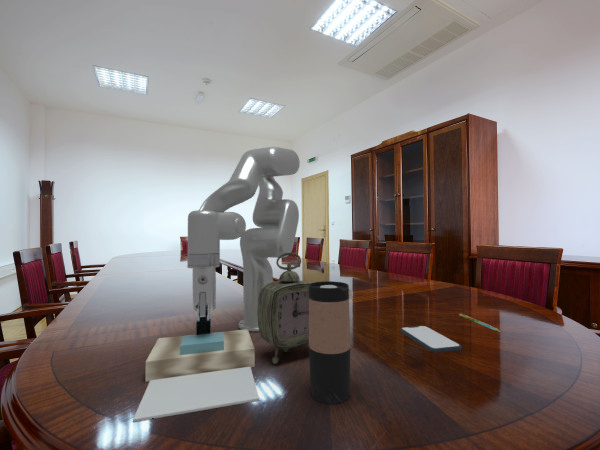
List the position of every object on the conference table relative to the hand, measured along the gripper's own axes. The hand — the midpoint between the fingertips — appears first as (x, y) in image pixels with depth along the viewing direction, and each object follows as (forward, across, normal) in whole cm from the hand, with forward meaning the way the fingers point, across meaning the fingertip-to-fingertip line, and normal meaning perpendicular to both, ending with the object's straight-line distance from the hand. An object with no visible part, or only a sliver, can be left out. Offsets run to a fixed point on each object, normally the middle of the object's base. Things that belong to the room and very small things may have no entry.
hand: (203, 336), depth 70 cm
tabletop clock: (+5, -5, -20) cm, 21 cm away
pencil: (+5, +1, -85) cm, 85 cm away
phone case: (+5, -7, -59) cm, 60 cm away
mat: (+5, -16, 0) cm, 17 cm away
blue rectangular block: (+1, -5, 0) cm, 5 cm away
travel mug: (+5, -24, -23) cm, 34 cm away
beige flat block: (+5, -2, 0) cm, 5 cm away
